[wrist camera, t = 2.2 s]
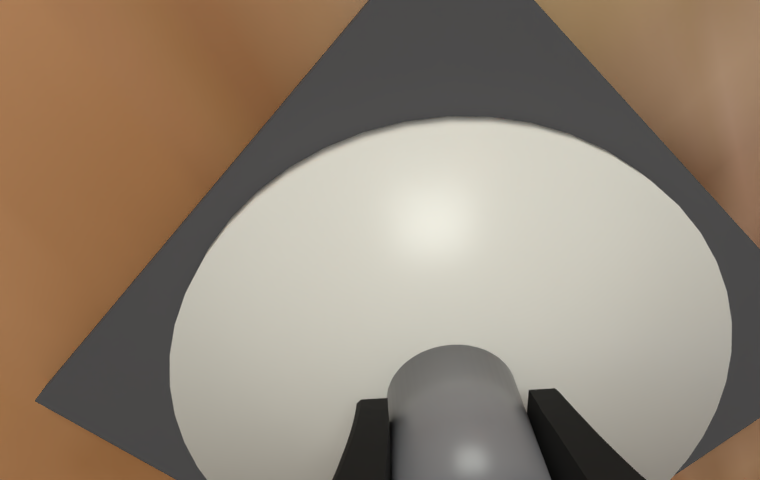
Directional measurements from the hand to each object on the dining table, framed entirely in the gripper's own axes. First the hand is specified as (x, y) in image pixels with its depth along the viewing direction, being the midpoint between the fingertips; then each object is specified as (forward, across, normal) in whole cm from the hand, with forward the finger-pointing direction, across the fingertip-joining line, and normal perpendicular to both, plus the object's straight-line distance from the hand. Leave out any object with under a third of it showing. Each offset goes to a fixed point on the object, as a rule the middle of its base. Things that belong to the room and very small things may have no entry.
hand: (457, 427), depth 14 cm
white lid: (+2, 0, 0) cm, 2 cm away
